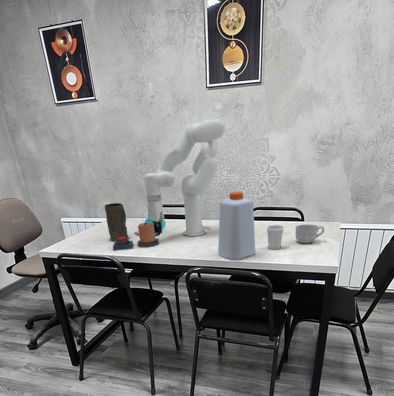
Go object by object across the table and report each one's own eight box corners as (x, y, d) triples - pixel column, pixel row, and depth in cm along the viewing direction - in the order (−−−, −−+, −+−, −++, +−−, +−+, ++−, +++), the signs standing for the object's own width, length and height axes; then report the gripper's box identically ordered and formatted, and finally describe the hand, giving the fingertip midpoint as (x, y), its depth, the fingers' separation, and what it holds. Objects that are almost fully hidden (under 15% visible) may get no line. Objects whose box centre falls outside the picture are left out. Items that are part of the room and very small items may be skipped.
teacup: (293, 244, 174) (294, 228, 170) (295, 238, 182) (297, 223, 178) (322, 245, 169) (324, 229, 165) (323, 239, 178) (325, 223, 174)
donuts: (167, 230, 214) (165, 213, 209) (158, 234, 207) (156, 217, 202) (153, 229, 218) (151, 212, 213) (144, 233, 211) (142, 216, 206)
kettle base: (158, 240, 196) (158, 237, 195) (158, 246, 186) (158, 243, 185) (138, 242, 195) (137, 239, 194) (137, 248, 185) (136, 245, 185)
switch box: (133, 244, 192) (132, 237, 190) (132, 248, 185) (131, 241, 183) (115, 246, 192) (114, 239, 190) (113, 250, 185) (112, 243, 183)
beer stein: (124, 241, 198) (118, 205, 188) (106, 241, 200) (100, 205, 191) (133, 236, 211) (129, 201, 202) (117, 236, 213) (112, 202, 204)
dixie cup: (282, 244, 174) (284, 224, 169) (282, 250, 167) (284, 229, 162) (266, 244, 176) (266, 225, 171) (265, 250, 169) (266, 229, 164)
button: (126, 239, 188) (125, 236, 187) (125, 241, 185) (125, 238, 184) (119, 240, 188) (118, 237, 187) (118, 242, 185) (117, 239, 184)
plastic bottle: (214, 254, 168) (212, 193, 154) (238, 247, 175) (238, 188, 161) (234, 261, 158) (234, 197, 143) (258, 254, 165) (260, 191, 150)
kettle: (155, 235, 198) (153, 218, 193) (165, 237, 192) (163, 220, 187) (131, 243, 188) (128, 225, 183) (141, 245, 182) (138, 227, 177)
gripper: (141, 198, 187) (145, 231, 197) (155, 201, 176) (160, 237, 186) (152, 195, 191) (157, 229, 201) (168, 198, 180) (171, 234, 189)
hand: (158, 232), depth 193 cm, fingers closed on kettle
